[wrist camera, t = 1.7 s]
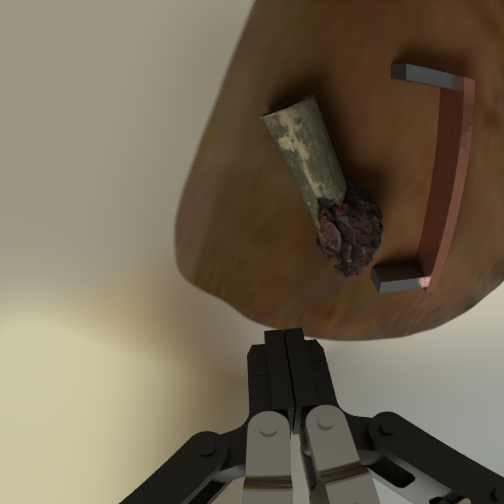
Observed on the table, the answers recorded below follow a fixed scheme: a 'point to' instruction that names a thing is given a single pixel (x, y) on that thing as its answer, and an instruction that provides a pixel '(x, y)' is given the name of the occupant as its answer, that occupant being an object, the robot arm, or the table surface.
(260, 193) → the table surface
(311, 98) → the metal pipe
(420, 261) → the brown pull handle
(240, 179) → the table surface
